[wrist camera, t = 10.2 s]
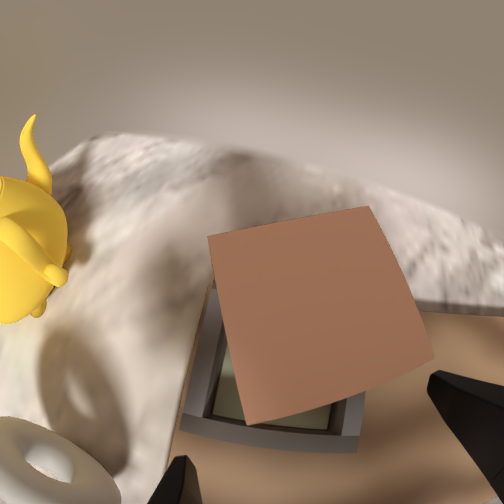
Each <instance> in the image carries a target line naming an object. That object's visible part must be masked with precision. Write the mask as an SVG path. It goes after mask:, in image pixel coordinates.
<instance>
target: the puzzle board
mask: <svg viewBox="0 0 504 504" xmlns="http://www.w3.org/2000/svg"><path fill="white" fill-rule="evenodd" d="M419 313H420V316H421V318H422V321H423V324H424V326H425V329H426V332H427V335H428V338H429V340H430V343H431V346H432V349H433V352H434V355H435V359H433V360H431V361H429V362H427V363H425V364H423V365H421V366H419V367H417V368H415V369H413V370H411V371H409V372H407V373H405V374H403V375H401V376H399V377H397V378H394V379H392V380H390V381H388V382H385V383H383V384H381V385H378V386H376V387H374V388H371V389H369V390H366V391H364V392H361V393H358V394H356V395H353V396H350V397H348V398H345V399H342V400H339V401H336V402H334V403H331V404H328V405H324V406H321V407H318V408H315V409H312V410H308V411H305V412H301V413H298V414H294V415H291V416H287V417H283V418H279V419H275V420H271V421H266V422H262V423H257V424H252V425H247V424H246V420H245V416H244V412H243V408H242V404H241V400H240V396H239V391H238V387H237V383H236V378H235V374H234V369H233V365H232V360H231V356H230V351H229V347H228V342H227V337H226V332H225V328H224V323H223V318H222V313H221V308H220V303H219V297H218V292H217V287H216V282H215V277H214V281H213V284H210V283H209V285H208V289H207V293H206V297H205V301H204V305H203V309H202V313H201V317H200V321H199V325H198V329H197V333H196V337H195V341H194V345H193V349H192V354H191V358H190V362H189V366H188V371H187V375H186V380H185V384H184V389H183V393H182V398H181V402H180V407H179V411H178V416H177V421H176V426H175V431H174V436H173V440H172V445H171V451H170V456H169V461H168V466H167V469H168V467H169V465H170V464H171V462H172V460H173V458H174V457H175V456H178V455H187V456H188V457H189V458H190V460H191V461H192V463H193V464H194V466H195V467H196V470H197V475H198V481H199V487H200V492H201V497H202V502H203V504H482V503H484V502H486V501H488V500H490V499H493V498H495V497H496V496H497V494H496V493H495V491H494V490H493V488H492V487H491V485H490V483H489V482H488V481H487V479H486V478H485V476H484V475H483V473H482V472H481V471H480V469H479V468H478V466H477V465H476V464H475V462H474V461H473V459H472V458H471V457H470V455H469V454H468V453H467V451H466V450H465V448H464V447H463V446H462V444H461V443H460V442H459V440H458V439H457V438H456V436H455V435H454V434H453V432H452V431H451V430H450V428H449V427H448V426H447V425H446V423H445V422H444V420H443V419H442V417H441V416H440V414H439V412H438V410H437V409H436V407H435V405H434V404H433V402H432V400H431V399H430V397H429V396H428V394H427V385H428V381H429V377H430V375H431V374H432V373H433V372H435V371H437V370H443V371H447V372H450V373H454V374H458V375H461V376H465V377H469V378H473V379H477V380H481V381H485V382H489V383H494V384H498V385H502V386H504V317H498V316H480V315H464V314H450V313H437V312H425V311H419Z"/></svg>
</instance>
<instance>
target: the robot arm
mask: <svg viewBox="0 0 504 504" xmlns="http://www.w3.org/2000/svg"><path fill="white" fill-rule="evenodd" d="M427 394H428V396H429V397H430V399H431V400H432V402H433V404H434V405H435V407H436V409H437V410H438V412H439V414H440V416H441V417H442V419H443V420H444V422H445V423H446V425H447V426H448V427H449V428H450V430H451V431H452V432H453V434H454V435H455V436H456V438H457V439H458V440H459V442H460V443H461V444H462V446H463V447H464V448H465V450H466V451H467V453H468V454H469V455H470V457H471V458H472V459H473V461H474V462H475V464H476V465H477V466H478V468H479V469H480V471H481V472H482V473H483V475H484V476H485V478H486V479H487V481H488V482H489V483H490V485H491V487H492V488H493V490H494V491H495V493H496V494H497V496H498V497H499V499H500V500H501V502H502V503H503V504H504V386H502V385H498V384H494V383H489V382H485V381H481V380H477V379H473V378H469V377H465V376H461V375H458V374H454V373H450V372H447V371H443V370H437V371H435V372H433V373H432V374H431V375H430V377H429V381H428V385H427ZM147 504H203V502H202V497H201V492H200V487H199V481H198V475H197V470H196V467H195V466H194V464H193V463H192V461H191V460H190V458H189V457H188V456H187V455H178V456H175V457H174V458H173V460H172V462H171V464H170V465H169V467H168V469H167V471H166V472H165V474H164V476H163V477H162V479H161V481H160V483H159V484H158V486H157V488H156V489H155V491H154V493H153V495H152V496H151V498H150V500H149V501H148V503H147Z"/></svg>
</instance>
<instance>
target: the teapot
mask: <svg viewBox="0 0 504 504" xmlns="http://www.w3.org/2000/svg"><path fill="white" fill-rule="evenodd" d="M35 118H36V114H34V115H32V117H31V118H30V119H29V120H28V122H27V123H26V125H25V126H24V128H23V130H22V132H21V135H20V148H21V152H22V154H23V157H24V159H25V161H26V164H27V168H28V176H27V181H22V180H18V179H14V178H10V177H5V176H0V324H11V323H14V322H17V321H19V320H20V319H22V318H24V317H26V316H27V315H29V314H30V313H31V315H32V316H33V317H34V318H38V317H40V316H42V314H43V313H44V311H45V309H46V298H47V296H48V295H49V293H50V292H51V290H52V289H53V287H54V286H56V287H62V286H63V285H64V284H65V283H66V282H67V280H68V271H67V270H65V269H63V268H62V266H63V263H65V262H66V261H67V260H68V258H69V257H70V255H71V246H70V245H69V244H67V234H68V229H67V221H66V217H65V214H64V211H63V209H62V208H61V206H60V205H59V204H58V203H57V201H56V200H55V199H53V198H52V197H51V194H52V177H51V173H50V170H49V168H48V166H47V164H46V162H45V161H44V159H43V158H42V156H41V154H40V153H39V151H38V149H37V147H36V145H35V142H34V138H33V126H34V121H35Z"/></svg>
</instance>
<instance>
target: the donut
mask: <svg viewBox="0 0 504 504" xmlns="http://www.w3.org/2000/svg"><path fill="white" fill-rule="evenodd" d="M30 464H31V465H35V466H38V467H40V468H42V469H45V470H47V471H49V472H50V473H52V474H54V475H55V476H57V477H58V478H60V479H61V480H62V481H64V482H60V481H58V480H55V479H52V478H50V477H47V476H46V475H44V474H42V473H41V472H39V471H37V470H36V469H35V468H33V467H32V466H31V465H30ZM0 497H1V498H2V499H3V500H4V501H5V502H6V503H7V504H121V494H120V491H119V489H118V487H117V485H116V484H115V482H114V480H113V478H112V477H111V475H110V474H109V473H108V472H107V471H106V470H105V469H104V468H103V466H102V465H101V464H100V463H99V462H97V461H96V460H95V459H94V458H93V457H91V456H90V455H89V454H88V453H87V452H85V451H84V450H82V449H81V448H79V447H78V446H76V445H75V444H73V443H72V442H71V441H69V440H67V439H65V438H63V437H62V436H60V435H58V434H57V433H55V432H53V431H50V430H48V429H46V428H44V427H42V426H40V425H37V424H34V423H32V422H29V421H26V420H23V419H19V418H15V417H10V416H8V417H0Z"/></svg>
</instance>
